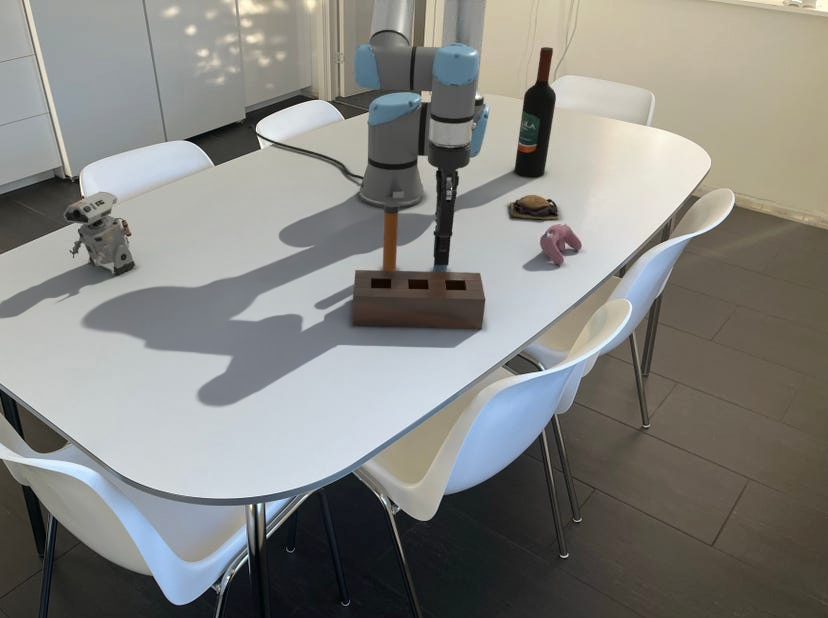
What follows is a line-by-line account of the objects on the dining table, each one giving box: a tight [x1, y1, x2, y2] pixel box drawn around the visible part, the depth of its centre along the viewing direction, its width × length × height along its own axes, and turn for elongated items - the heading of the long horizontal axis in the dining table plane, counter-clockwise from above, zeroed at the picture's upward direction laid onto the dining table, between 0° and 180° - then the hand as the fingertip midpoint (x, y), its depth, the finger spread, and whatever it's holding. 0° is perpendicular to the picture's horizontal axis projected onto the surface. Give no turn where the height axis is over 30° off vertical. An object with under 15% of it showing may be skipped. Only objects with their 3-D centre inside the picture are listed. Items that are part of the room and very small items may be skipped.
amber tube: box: [382, 201, 400, 271], centre depth 141 cm, size 3×3×14 cm
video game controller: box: [539, 223, 583, 266], centre depth 149 cm, size 10×5×7 cm, turn 141°
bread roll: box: [509, 194, 559, 221], centre depth 167 cm, size 11×8×4 cm
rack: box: [352, 269, 486, 330], centre depth 130 cm, size 10×22×6 cm, turn 87°
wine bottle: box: [514, 46, 557, 179], centre depth 180 cm, size 8×8×30 cm
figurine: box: [62, 191, 136, 276], centre depth 141 cm, size 9×12×15 cm
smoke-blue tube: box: [432, 204, 448, 272], centre depth 140 cm, size 3×3×14 cm
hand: (440, 260), depth 143 cm, fingers closed on smoke-blue tube, 2 cm apart
